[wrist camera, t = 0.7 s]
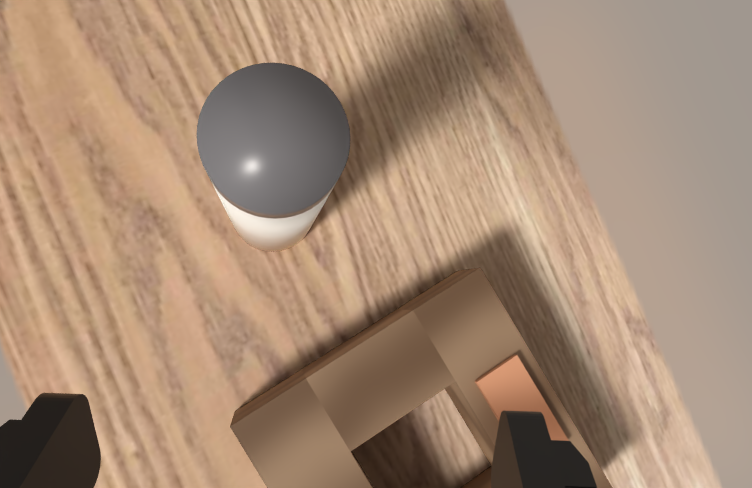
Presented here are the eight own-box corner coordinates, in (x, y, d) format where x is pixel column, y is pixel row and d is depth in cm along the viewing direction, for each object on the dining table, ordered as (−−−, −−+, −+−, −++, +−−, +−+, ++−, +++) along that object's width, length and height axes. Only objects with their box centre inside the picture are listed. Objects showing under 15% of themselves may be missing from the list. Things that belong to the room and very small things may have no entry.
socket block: (234, 411, 33) (229, 428, 29) (457, 270, 36) (483, 267, 32) (375, 642, 33) (390, 693, 29) (586, 486, 36) (629, 511, 32)
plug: (214, 195, 34) (167, 107, 18) (287, 155, 35) (301, 37, 19) (257, 267, 34) (247, 240, 18) (329, 225, 35) (377, 164, 19)
